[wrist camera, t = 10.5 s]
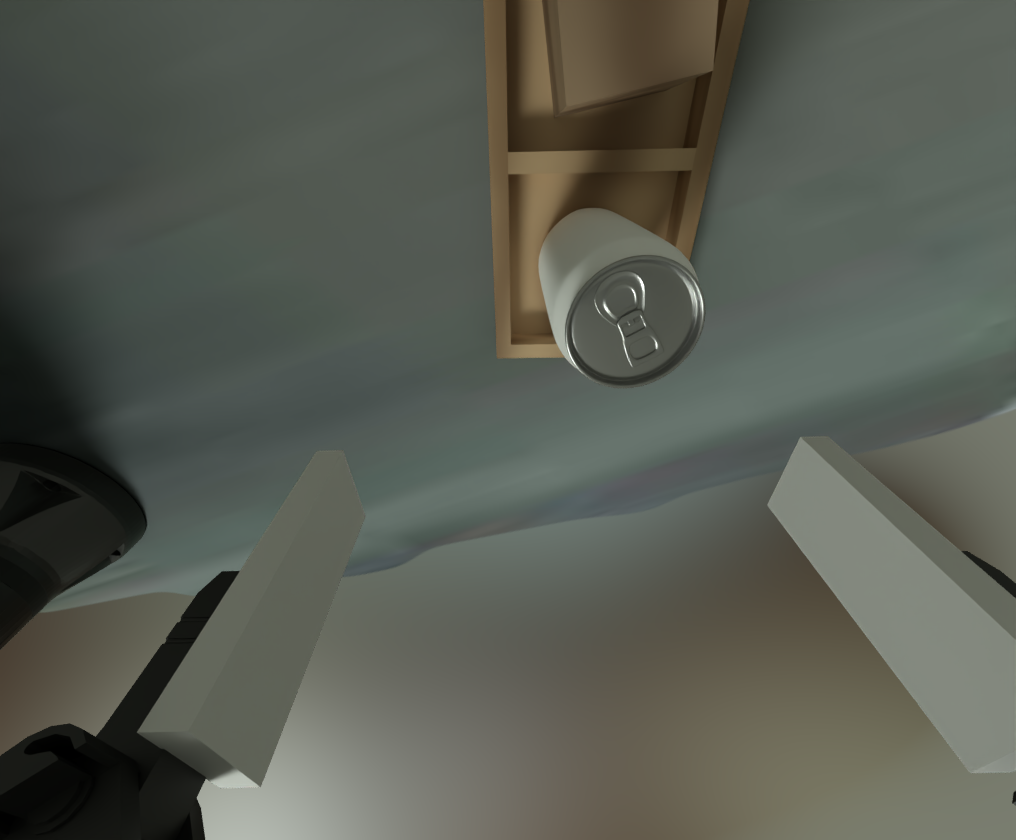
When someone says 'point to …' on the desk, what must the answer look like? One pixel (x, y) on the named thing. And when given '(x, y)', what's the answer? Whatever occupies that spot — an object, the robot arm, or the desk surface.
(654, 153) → the caddy
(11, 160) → the desk surface
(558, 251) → the can
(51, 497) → the robot arm
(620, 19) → the walnut block
